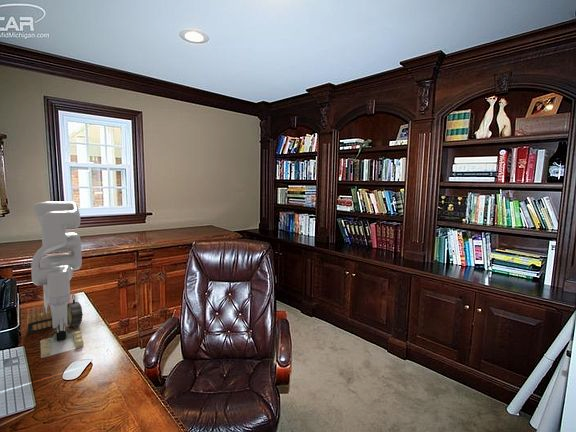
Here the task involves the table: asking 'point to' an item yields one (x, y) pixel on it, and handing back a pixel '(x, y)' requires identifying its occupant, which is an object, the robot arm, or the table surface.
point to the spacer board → (61, 344)
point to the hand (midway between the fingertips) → (61, 339)
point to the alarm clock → (74, 313)
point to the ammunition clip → (39, 320)
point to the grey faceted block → (56, 336)
